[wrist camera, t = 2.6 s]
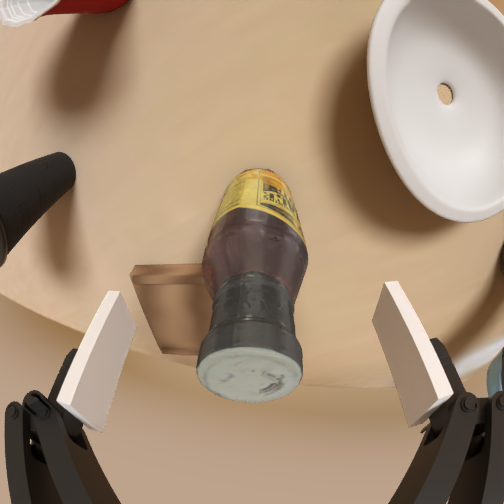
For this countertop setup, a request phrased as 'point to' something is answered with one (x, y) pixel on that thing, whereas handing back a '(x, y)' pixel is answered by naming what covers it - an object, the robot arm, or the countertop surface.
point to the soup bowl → (433, 110)
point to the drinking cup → (31, 195)
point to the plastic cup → (50, 9)
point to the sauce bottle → (253, 291)
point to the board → (174, 305)
